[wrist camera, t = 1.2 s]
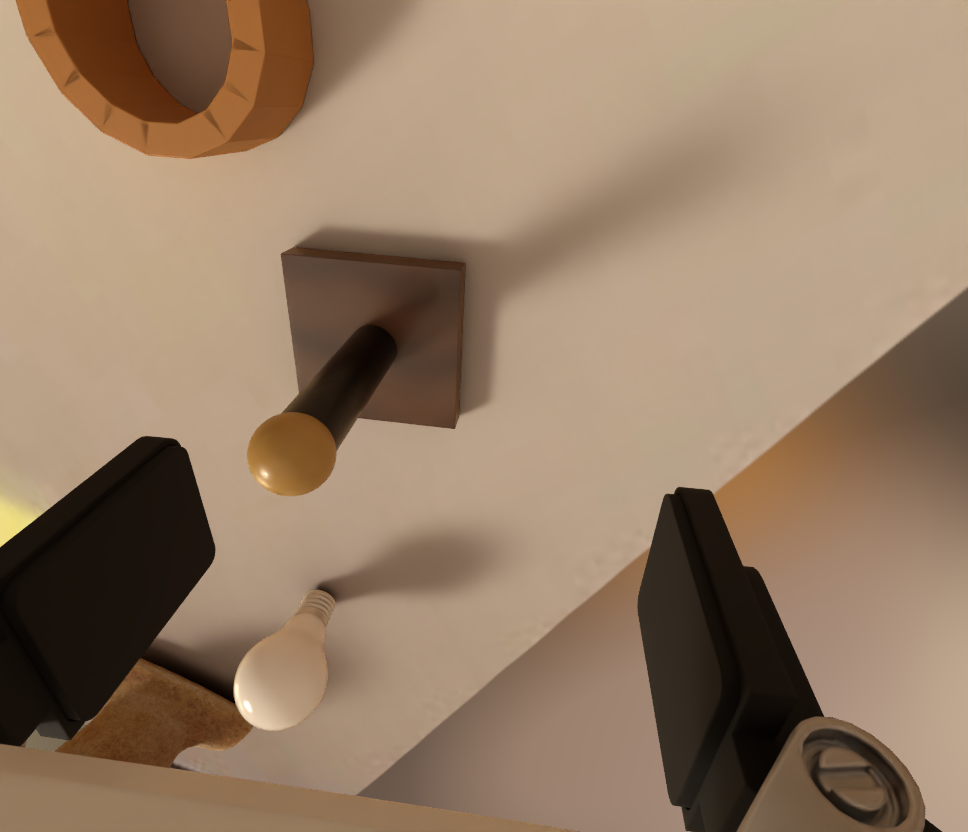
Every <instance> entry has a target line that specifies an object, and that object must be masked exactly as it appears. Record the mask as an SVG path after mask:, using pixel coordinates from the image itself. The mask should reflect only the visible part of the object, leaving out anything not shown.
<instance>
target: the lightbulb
mask: <svg viewBox="0 0 968 832" xmlns="http://www.w3.org/2000/svg"><path fill="white" fill-rule="evenodd" d="M334 607H335V600H334V599H333V597H332V596H331V595H330V594H328V593H327V592H325V591H322V590H310V591H308V592H307V593H306V594H305V596H304V598H303V600H302V602H301V603H300V606H299V607H298V610H297V611H296V613H295V615H294V616H293V617H292V618H290V619H289V620H288V621H287V622H286V623H285V625H284V626H283V627H282V628H281V629H280V630H279V631H278V632H276V633H274V634H272V635H270V636H268V637H266V638H264V639H263V640H261V641H260V642H258V643H257V644H256V645H255V646H253V647H252V648H251V649H250V650H249V651H248V653H247V654H246V655H245V657H244V658H243V659H242V661H241V663H240V665H239V667H238V669H237V672H236V675H235V680H234V699H235V703H236V706H237V708H238V710H239V712H240V714H241V715H242V716H243V718H244V719H245V720H246V721H247V722H249V723H250V724H251V725H253V726H255V727H257V728H259V729H263V730H268V731H279V730H285V729H288V728H291V727H293V726H295V725H297V724H299V723H301V722H302V721H304V720H305V719H306V718H307V717H308V716H310V715H311V714H312V712H313V711H314V710H315V709H316V708H317V706H318V705H319V703H320V701H321V699H322V697H323V695H324V693H325V690H326V686H327V681H328V667H327V661H326V657H325V653H324V641H325V636H326V630H325V628H326V626H327V623H328V620H329V619H330V616H331V615H332V612H333V610H334Z"/></svg>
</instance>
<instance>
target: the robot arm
mask: <svg viewBox="0 0 968 832" xmlns="http://www.w3.org/2000/svg"><path fill="white" fill-rule="evenodd" d="M214 556H215V544H214V541H213V537H212V534H211V531H210V527H209V524H208V520H207V517H206V513H205V510H204V507H203V503H202V500H201V496H200V493H199V489H198V486H197V483H196V479H195V476H194V472H193V469H192V465H191V462H190V459H189V455H188V452H187V450H186V449H185V448H183V447H181V445H180V443H179V442H178V441H177V440H175V439H172V438H161V437H151V436H144V437H141V438H139V439H137V440H136V441H135V442H134V443H132V444H131V445H130V446H128V447H127V448H126V449H125V450H123V451H122V452H121V453H120V454H118V455H117V456H116V457H114V458H113V459H112V460H111V461H109V462H108V463H107V464H106V465H104V466H103V467H102V468H100V469H99V470H98V471H97V472H95V473H94V474H93V475H92V476H90V477H89V478H88V479H86V480H85V481H84V482H83V483H81V484H80V485H79V486H78V487H76V488H75V489H74V490H72V491H71V492H70V493H69V494H67V495H66V496H65V497H64V498H62V499H61V500H60V501H58V502H57V503H56V504H55V505H53V506H52V507H51V508H50V509H48V510H47V511H46V512H45V513H43V514H42V515H41V516H39V517H38V518H37V519H36V520H34V521H33V522H32V523H31V524H29V525H28V526H27V527H25V528H24V529H23V530H22V531H20V532H19V533H18V534H17V535H15V536H14V537H13V538H11V539H10V540H9V541H8V542H6V543H5V544H4V545H3V546H1V547H0V832H578V831H572V830H566V829H560V828H555V827H549V826H543V825H538V824H532V823H526V822H520V821H515V820H508V819H501V818H495V817H488V816H482V815H476V814H469V813H462V812H456V811H450V810H443V809H436V808H430V807H423V806H418V805H410V804H405V803H398V802H392V801H385V800H378V799H372V798H366V797H359V796H353V795H346V794H340V793H333V792H326V791H320V790H313V789H306V788H299V787H293V786H286V785H279V784H273V783H266V782H259V781H253V780H246V779H239V778H232V777H226V776H219V775H212V774H205V773H199V772H192V771H185V770H178V769H172V768H165V767H158V766H151V765H144V764H137V763H130V762H123V761H116V760H109V759H102V758H95V757H88V756H81V755H74V754H67V753H60V752H53V751H46V750H39V749H32V748H26V740H27V739H28V737H29V736H30V735H31V734H32V733H33V731H34V730H35V729H36V730H37V731H38V733H39V734H40V736H44V737H51V738H57V739H65V740H72V738H73V737H74V736H75V734H76V733H77V732H78V730H79V729H80V728H81V726H82V725H83V724H84V723H85V721H88V720H91V719H92V718H94V717H95V716H96V715H97V714H98V713H99V712H100V711H101V709H102V708H103V707H104V705H105V704H106V703H107V701H108V700H109V699H110V697H111V696H112V695H113V693H114V692H115V691H116V690H117V688H118V687H119V686H120V684H121V683H122V682H123V680H124V679H125V678H126V676H127V675H128V674H129V672H130V671H131V670H132V668H133V667H134V666H135V664H136V663H137V662H138V660H139V659H140V658H141V657H142V655H143V654H144V653H145V651H146V650H147V649H148V647H149V646H150V645H151V643H152V642H153V641H154V639H155V638H156V637H157V635H158V634H159V633H160V631H161V630H162V629H163V627H164V626H165V625H166V623H167V622H168V621H169V620H170V618H171V617H172V616H173V614H174V613H175V612H176V610H177V609H178V608H179V606H180V605H181V604H182V602H183V601H184V600H185V598H186V597H187V596H188V594H189V593H190V592H191V590H192V589H193V588H194V587H195V585H196V584H197V583H198V581H199V580H200V579H201V577H202V576H203V575H204V573H205V572H206V571H207V569H208V568H209V567H210V565H211V564H212V562H213V559H214ZM638 616H639V622H640V628H641V634H642V640H643V646H644V652H645V658H646V664H647V670H648V676H649V682H650V688H651V694H652V699H653V706H654V712H655V718H656V723H657V730H658V736H659V742H660V748H661V754H662V759H663V766H664V772H665V778H666V784H667V790H668V795H669V799H670V802H671V803H672V805H674V806H681V807H682V812H683V817H684V822H685V828H686V831H691V832H942V831H940V830H939V829H938V828H936V827H935V826H934V825H933V824H931V823H930V822H929V821H928V820H926V819H925V805H924V802H923V799H922V795H921V792H920V790H919V787H918V785H917V784H916V782H915V781H914V779H913V777H912V775H911V774H910V772H909V771H908V769H907V768H906V766H905V765H904V764H903V763H902V762H901V761H900V760H899V759H898V757H897V756H896V755H895V754H894V753H893V752H892V751H891V750H890V749H889V748H888V747H887V746H885V745H884V744H883V743H882V742H880V741H879V740H878V739H876V738H875V737H874V736H873V735H871V734H870V733H868V732H866V731H864V730H862V729H861V728H859V727H857V726H855V725H853V724H851V723H848V722H845V721H842V720H839V719H836V718H833V717H824V715H823V713H822V711H821V708H820V706H819V704H818V702H817V700H816V697H815V695H814V693H813V691H812V689H811V686H810V684H809V682H808V679H807V677H806V675H805V673H804V670H803V668H802V666H801V664H800V662H799V659H798V657H797V655H796V652H795V650H794V648H793V646H792V644H791V641H790V639H789V637H788V635H787V632H786V630H785V628H784V626H783V623H782V621H781V619H780V617H779V614H778V612H777V610H776V608H775V605H774V603H773V601H772V599H771V596H770V594H769V592H768V590H767V587H766V585H765V583H764V581H763V579H762V577H761V575H760V574H759V572H758V571H757V570H756V569H755V568H754V567H746V566H743V565H742V563H741V560H740V558H739V555H738V553H737V551H736V548H735V546H734V543H733V541H732V539H731V536H730V534H729V532H728V529H727V526H726V524H725V522H724V519H723V517H722V514H721V512H720V510H719V507H718V505H717V503H716V500H715V498H714V495H713V493H712V492H711V491H710V490H705V489H694V488H684V487H678V488H677V489H676V490H675V493H674V494H665V496H664V498H663V502H662V506H661V509H660V513H659V517H658V521H657V525H656V529H655V533H654V537H653V540H652V544H651V548H650V552H649V556H648V560H647V564H646V568H645V572H644V575H643V579H642V583H641V587H640V591H639V595H638Z"/></svg>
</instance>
